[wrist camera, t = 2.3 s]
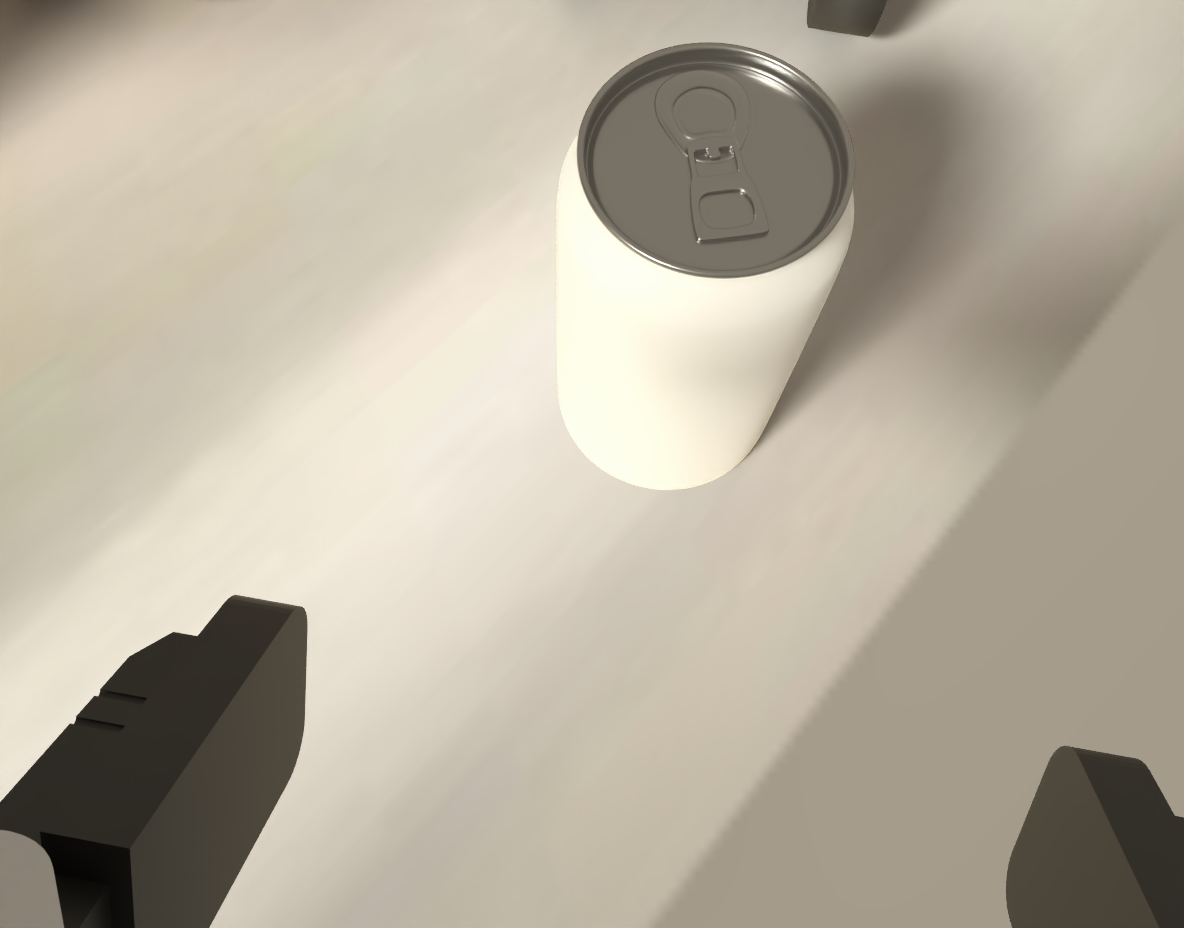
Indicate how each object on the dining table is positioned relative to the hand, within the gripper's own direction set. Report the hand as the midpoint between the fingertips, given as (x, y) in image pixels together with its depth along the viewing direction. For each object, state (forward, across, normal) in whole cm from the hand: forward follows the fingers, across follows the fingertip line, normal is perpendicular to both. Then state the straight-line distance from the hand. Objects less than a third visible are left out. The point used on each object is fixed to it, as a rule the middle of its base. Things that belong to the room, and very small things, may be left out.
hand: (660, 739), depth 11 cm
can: (+22, 0, +4) cm, 22 cm away
